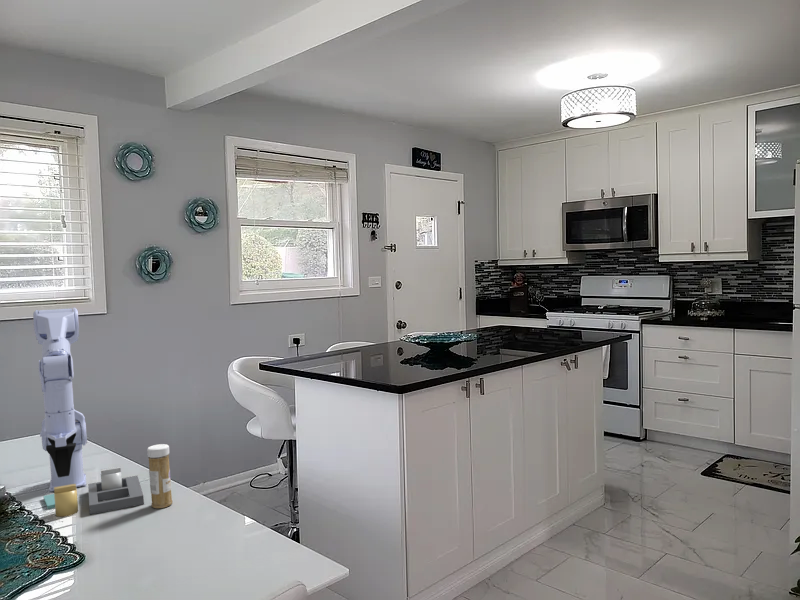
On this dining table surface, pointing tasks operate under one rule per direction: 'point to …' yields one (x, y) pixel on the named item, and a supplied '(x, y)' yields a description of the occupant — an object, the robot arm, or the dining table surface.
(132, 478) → the housing
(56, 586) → the dining table surface
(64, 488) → the beige cylinder with tab
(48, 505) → the lid plate
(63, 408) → the robot arm
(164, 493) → the spice jar
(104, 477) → the grey knob with ridge
